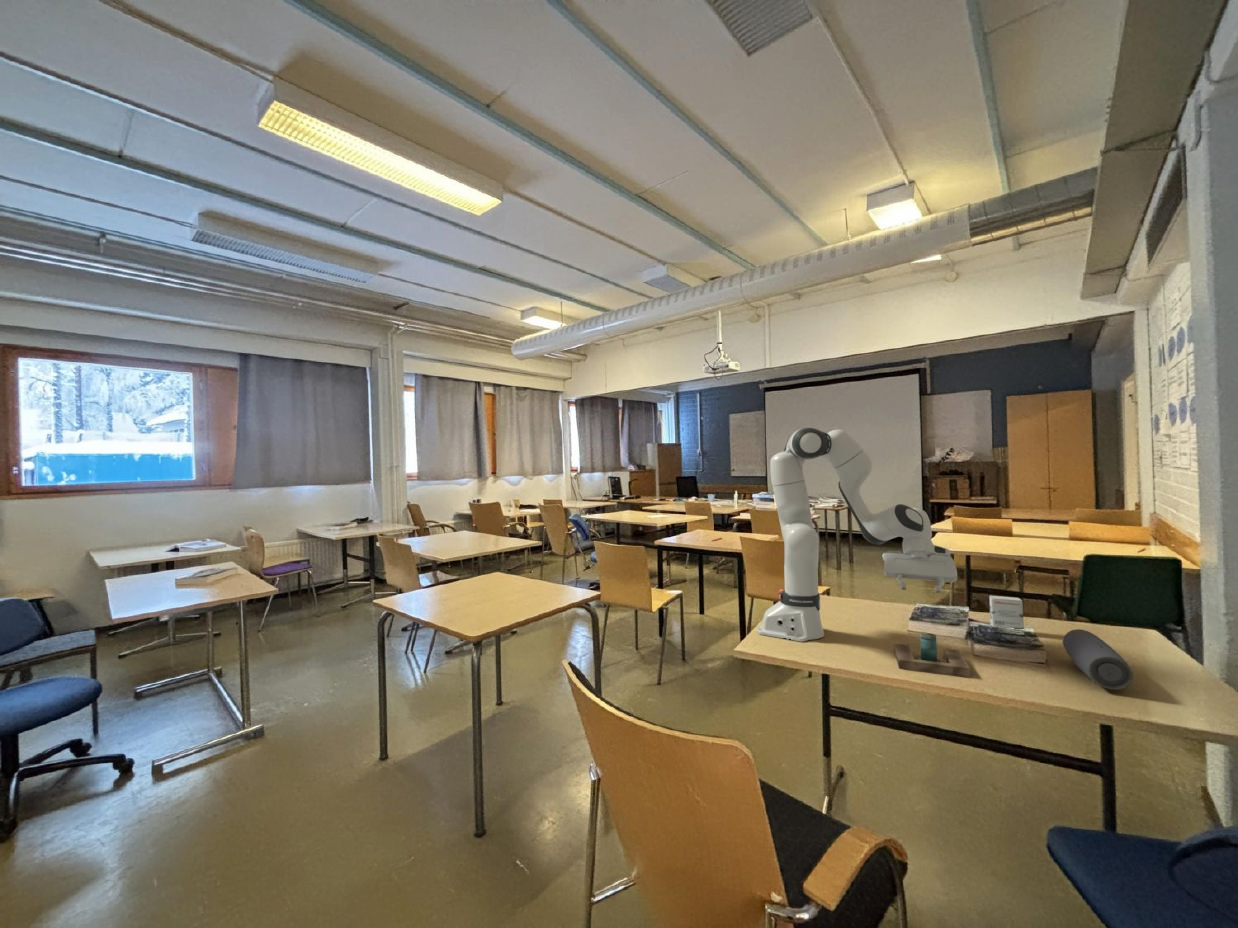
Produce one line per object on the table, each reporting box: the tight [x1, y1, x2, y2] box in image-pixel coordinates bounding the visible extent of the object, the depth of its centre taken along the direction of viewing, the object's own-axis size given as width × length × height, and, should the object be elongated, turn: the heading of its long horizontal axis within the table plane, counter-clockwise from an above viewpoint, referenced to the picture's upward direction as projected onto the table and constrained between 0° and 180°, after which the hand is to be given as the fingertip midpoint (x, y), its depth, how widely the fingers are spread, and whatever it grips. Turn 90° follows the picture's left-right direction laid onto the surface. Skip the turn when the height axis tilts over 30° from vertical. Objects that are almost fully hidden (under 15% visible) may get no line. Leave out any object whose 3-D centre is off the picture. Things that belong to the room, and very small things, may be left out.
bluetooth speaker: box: [1062, 628, 1134, 691], centre depth 133 cm, size 23×9×10 cm, turn 151°
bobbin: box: [916, 632, 942, 662], centre depth 146 cm, size 6×6×8 cm
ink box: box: [989, 595, 1025, 630], centre depth 169 cm, size 9×5×12 cm, turn 61°
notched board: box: [893, 643, 971, 678], centre depth 145 cm, size 17×14×2 cm
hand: (920, 590), depth 156 cm, fingers open, 8 cm apart
